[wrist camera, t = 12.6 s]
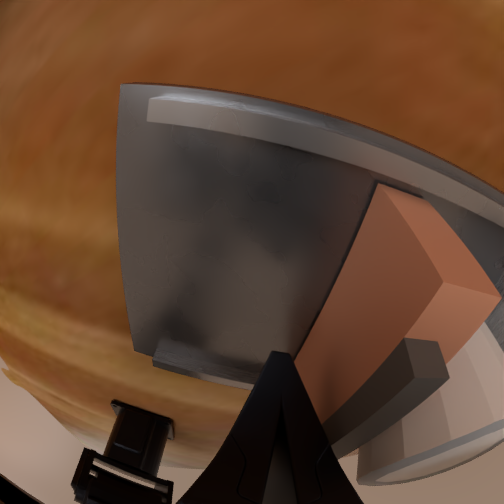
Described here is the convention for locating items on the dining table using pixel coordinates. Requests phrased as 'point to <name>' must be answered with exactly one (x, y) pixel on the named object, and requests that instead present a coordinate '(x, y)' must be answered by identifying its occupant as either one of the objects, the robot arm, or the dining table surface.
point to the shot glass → (444, 421)
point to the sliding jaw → (392, 320)
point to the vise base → (260, 221)
